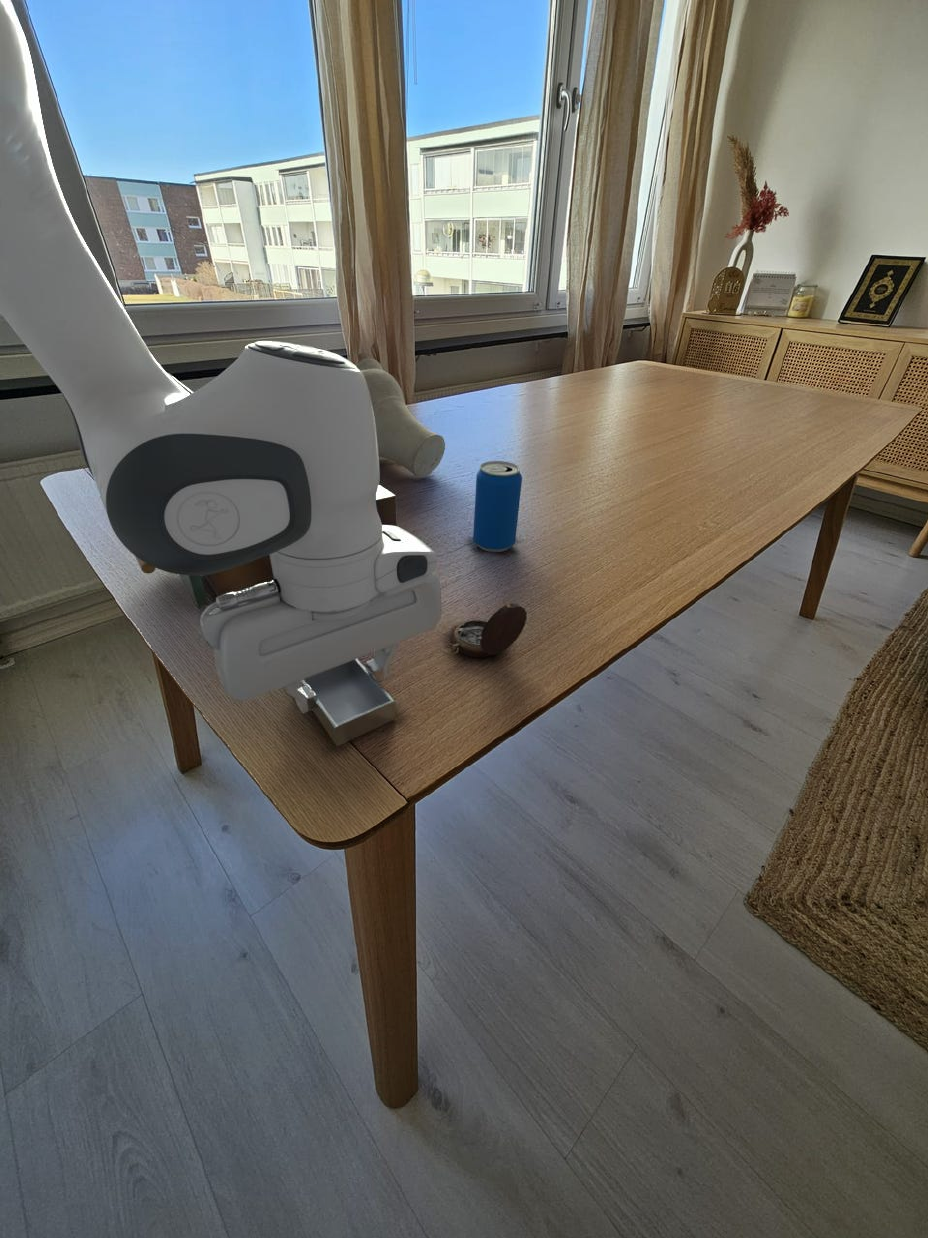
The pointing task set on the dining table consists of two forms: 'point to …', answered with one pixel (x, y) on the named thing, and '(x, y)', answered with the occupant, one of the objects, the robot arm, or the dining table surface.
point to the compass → (489, 632)
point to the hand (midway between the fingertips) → (344, 691)
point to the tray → (350, 701)
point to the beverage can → (496, 505)
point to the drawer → (224, 579)
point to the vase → (399, 424)
